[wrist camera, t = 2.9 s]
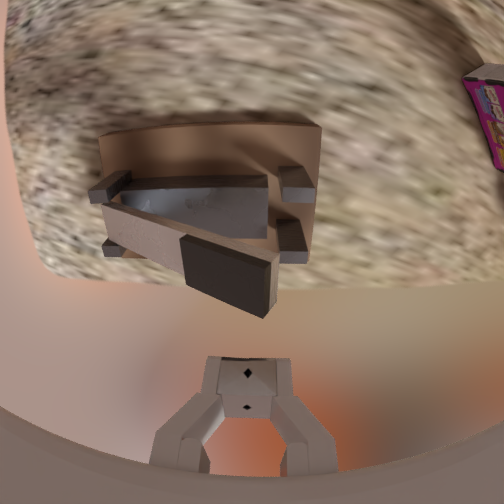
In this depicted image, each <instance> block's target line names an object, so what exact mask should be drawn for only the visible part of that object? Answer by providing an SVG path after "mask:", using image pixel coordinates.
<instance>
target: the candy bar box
mask: <svg viewBox="0 0 504 504" xmlns="http://www.w3.org/2000/svg"><path fill="white" fill-rule="evenodd" d="M462 80H463V83H464V85H465V87H466V89H467V91H468V94H469V96H470V98H471V100H472V102H473V105H474V107H475V110H476V112H477V114H478V117H479V119H480V122H481V125H482V127H483V130H484V133H485V136H486V138H487V141H488V144H489V148H490V151H491V154H492V158H493V161H494V165H495V168H496V169H497V170H499V171H501V172H503V173H504V65H503V64H491V63H485V64H483V65H482V66H480V67H479V68H477V69H476V70H474V71H473V72H471V73H469V74H467V75H466V76H464V77H462Z"/></svg>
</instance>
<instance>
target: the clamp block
mask: <svg viewBox="0 0 504 504" xmlns="http://www.w3.org/2000/svg"><path fill="white" fill-rule="evenodd" d="M278 182H279V187H280V192H281V198H282V202H293V203H314V197H315V187H314V185H313V183H312V181H311V179H310V177H309V175H308V173H307V171H306V170H305V168H304V167H303V166H278ZM119 192H120V197H121V203H122V205H125V206H129V207H132V208H135V209H138V210H142V211H145V212H148V213H151V214H155V215H158V216H161V217H164V218H167V219H171V220H174V221H177V222H180V223H183V224H187V225H190V226H193V227H196V228H199V229H203V230H206V231H209V232H212V233H215V234H218V235H222V236H225V237H228V238H234V239H267V226H268V192H269V187H268V175H193V176H168V177H150V178H135V179H133V180H132V174H131V170H123V171H114V172H113V173H112V174H110V175H109V176H107V177H106V178H105V179H103V180H102V181H101V182H99V183H98V184H97V185H95V186H94V187H93V188H91V189H90V190H89V191H88V194H89V198H90V203H91V204H94V203H109V202H110V201H111V200H112V199H113V198H114V197H115V196H116V195H117V194H118V193H119ZM276 240H277V250H278V254H280V258H279V263H287V264H307V259H308V248H307V244H306V240H305V237H304V233H303V229H302V226H301V222H300V220H298V219H276ZM102 250H103V253H104V256H105V257H122V256H123V254H124V253H125V251H126V250H127V248H125V247H123V246H121V245H119V244H117V243H115V242H113V241H111V240H109V237H108V239H107V240H106V241H105V242H104V243H103V245H102Z"/></svg>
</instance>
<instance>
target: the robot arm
mask: <svg viewBox="0 0 504 504" xmlns="http://www.w3.org/2000/svg"><path fill="white" fill-rule="evenodd" d="M292 386H293V385H292V371H291V360H290V359H289V358H280V359H279V358H277V359H276V358H249V359H248V358H231V357H216V356H208V358H207V360H206V366H205V371H204V377H203V383H202V389H201V393H196V394H195V395H194V396H193V397H192V398H191V399H190V400H189V401H188V402H187V403H186V404H185V405H184V406H183V407H182V408H181V409H180V410H179V411H178V412H177V413H176V414H174V415H173V416H172V417H171V418H170V419H169V420H168V421H167V422H166V423H165V424H164V425H163V426H162V427H161V428H160V429H159V430H158V431H157V432H156V434H155V439H154V443H153V447H152V451H151V456H150V461H149V464H145V463H141V462H137V461H133V460H129V459H125V458H121V457H118V456H115V455H111V454H108V453H104V452H101V451H98V450H95V449H92V448H89V447H87V446H84V445H81V444H78V443H76V442H73V441H70V440H68V439H65V438H63V437H60V436H58V435H56V434H53V433H51V432H49V431H46V430H44V429H42V428H40V427H38V426H36V425H34V424H32V423H30V422H28V421H26V420H24V419H22V418H20V417H18V416H16V415H14V414H13V413H11V412H9V411H7V410H6V409H4V408H2V407H1V406H0V504H504V421H502V422H500V423H498V424H496V425H494V426H492V427H490V428H488V429H486V430H484V431H481V432H479V433H477V434H475V435H472V436H470V437H468V438H466V439H463V440H460V441H458V442H456V443H453V444H450V445H447V446H445V447H442V448H439V449H436V450H433V451H430V452H427V453H424V454H421V455H417V456H414V457H410V458H407V459H403V460H399V461H395V462H391V463H386V464H382V465H377V466H373V467H368V468H362V469H356V470H350V471H344V472H338V462H337V454H336V445H335V439H334V438H333V437H332V436H331V434H330V433H329V432H328V431H327V430H326V429H325V428H324V427H323V425H322V424H321V423H320V422H319V421H318V420H317V419H316V417H315V416H314V415H313V414H312V413H311V412H310V410H309V409H308V408H307V407H306V406H305V405H304V403H303V402H302V401H301V400H300V399H299V397H298V396H293V387H292ZM225 417H237V418H265V419H270V421H271V422H272V424H273V425H274V427H275V428H276V430H277V431H278V432H279V434H280V436H281V437H282V439H283V440H284V442H285V443H286V444H287V447H286V450H285V453H284V456H283V458H282V461H281V464H280V477H245V476H227V475H215V474H209V472H210V460H209V458H208V456H207V453H206V451H205V449H204V447H203V445H204V444H205V442H206V441H207V440H208V439H209V438H210V436H211V435H212V434H213V433H214V431H215V430H216V429H217V428H218V426H219V425H220V424H221V423H222V421H223V420H224V419H225Z"/></svg>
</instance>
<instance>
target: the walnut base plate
mask: <svg viewBox="0 0 504 504" xmlns="http://www.w3.org/2000/svg"><path fill="white" fill-rule="evenodd" d="M321 134H322V127H320V126H319V125H317V124H305V123H287V122H208V123H190V124H176V125H165V126H155V127H146V128H138V129H131V130H124V131H117V132H111V133H107V134H105V135H102V136H100V137H98V141H99V148H100V155H101V162H102V168H103V174H104V179H105V178H106V177H107V176H109V175H110V174H112V173H113V172H114V171H123V170H131V174H132V180H133V179H135V178H150V177H168V176H193V175H268V187H269V192H268V226H267V239H234V238H231V239H234V240H237V241H241V242H244V243H247V244H250V245H253V246H256V247H260V248H263V249H266V250H269V251H272V252H275V253H278V250H277V240H276V219H298V220H300V222H301V226H302V229H303V233H304V237H305V240H306V244H307V248H308V259H307V261H309V256H310V248H311V240H312V232H313V223H314V214H315V205H316V195H317V185H318V173H319V161H320V148H321ZM278 166H303V167H304V168H305V170H306V171H307V173H308V175H309V177H310V179H311V181H312V183H313V185H314V187H315V197H314V203H293V202H282V198H281V192H280V187H279V182H278ZM111 201H112V202H116V203H119V204H122V203H121V197H120V192H119V193H118V194H117V195H116V196H115V197H114V198H113V199H112V200H111ZM122 258H143V259H148V258H146V257H144V256H142V255H139V254H137V253H135V252H133V251H131V250H129V249H127V250H126V251H125V253H124V254H123V256H122Z"/></svg>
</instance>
